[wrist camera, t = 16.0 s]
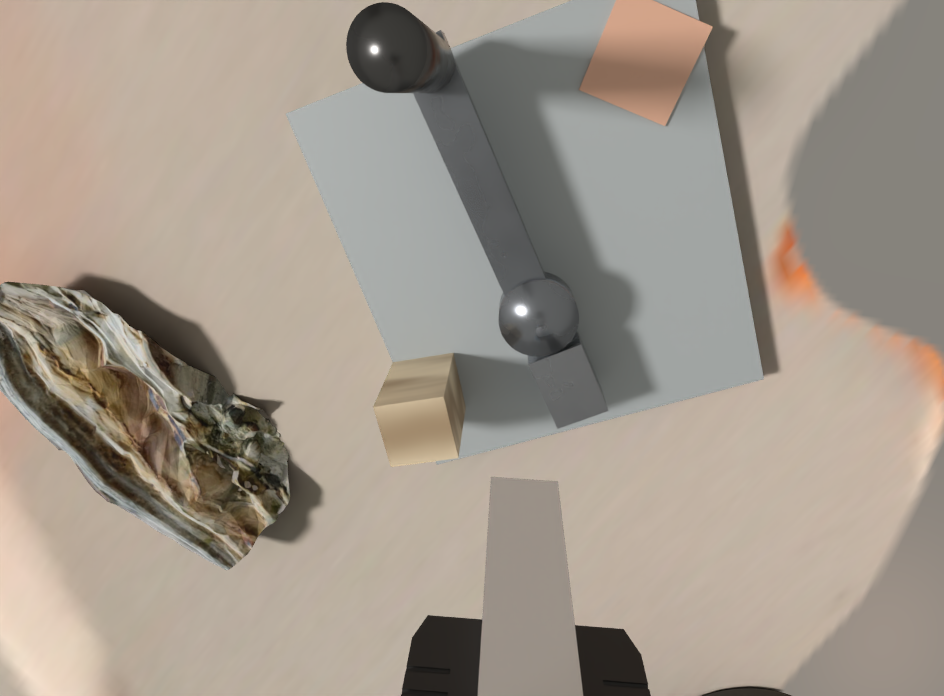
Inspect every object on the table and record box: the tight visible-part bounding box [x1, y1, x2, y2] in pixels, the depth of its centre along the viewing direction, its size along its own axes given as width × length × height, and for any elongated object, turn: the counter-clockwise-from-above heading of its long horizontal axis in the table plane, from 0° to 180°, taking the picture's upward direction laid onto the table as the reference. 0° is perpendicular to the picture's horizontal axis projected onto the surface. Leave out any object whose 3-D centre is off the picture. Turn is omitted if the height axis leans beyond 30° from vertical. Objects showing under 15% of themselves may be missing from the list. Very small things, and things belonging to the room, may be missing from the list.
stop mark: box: [579, 0, 713, 126], centre depth 31 cm, size 5×5×1 cm
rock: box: [0, 282, 290, 570], centre depth 40 cm, size 23×7×15 cm
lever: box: [346, 2, 609, 429], centre depth 28 cm, size 22×4×13 cm, turn 24°
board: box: [286, 0, 764, 464], centre depth 36 cm, size 24×22×2 cm
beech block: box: [373, 353, 466, 467], centre depth 36 cm, size 4×4×6 cm
